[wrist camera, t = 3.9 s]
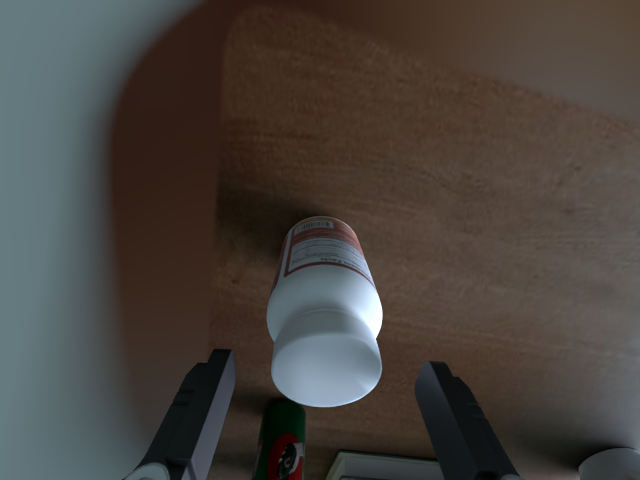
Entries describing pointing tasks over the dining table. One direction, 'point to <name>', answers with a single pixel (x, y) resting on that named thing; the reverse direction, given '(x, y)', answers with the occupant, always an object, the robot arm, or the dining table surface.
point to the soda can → (281, 442)
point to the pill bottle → (324, 316)
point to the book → (382, 467)
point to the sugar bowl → (612, 465)
